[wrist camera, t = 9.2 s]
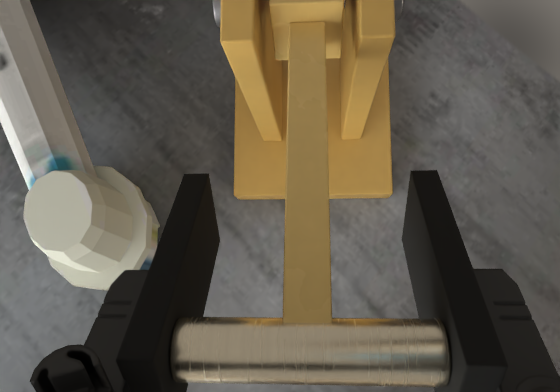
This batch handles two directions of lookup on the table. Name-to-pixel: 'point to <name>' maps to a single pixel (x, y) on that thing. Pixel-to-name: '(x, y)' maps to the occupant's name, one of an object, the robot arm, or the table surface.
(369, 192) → the yellow lever stand
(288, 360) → the tap lever
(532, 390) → the robot arm
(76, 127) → the white handheld electric wand
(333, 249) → the table surface
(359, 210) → the table surface
